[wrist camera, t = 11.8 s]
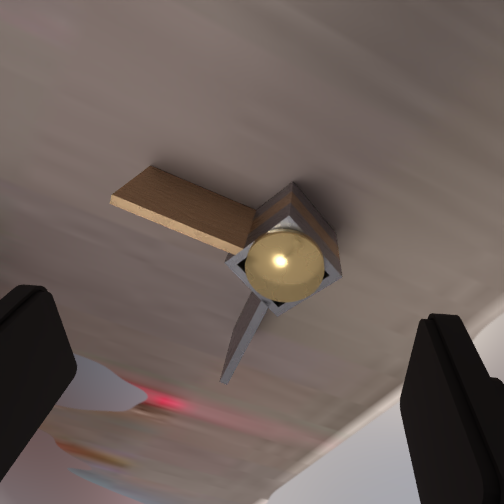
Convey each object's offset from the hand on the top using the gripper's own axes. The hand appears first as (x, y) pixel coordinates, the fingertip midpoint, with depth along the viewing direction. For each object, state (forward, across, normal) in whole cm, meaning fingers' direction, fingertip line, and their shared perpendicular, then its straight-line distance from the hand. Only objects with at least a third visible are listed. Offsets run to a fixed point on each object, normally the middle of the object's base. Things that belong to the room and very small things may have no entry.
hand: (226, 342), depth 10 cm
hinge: (+26, +6, +10) cm, 28 cm away
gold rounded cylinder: (+26, 0, +9) cm, 27 cm away
